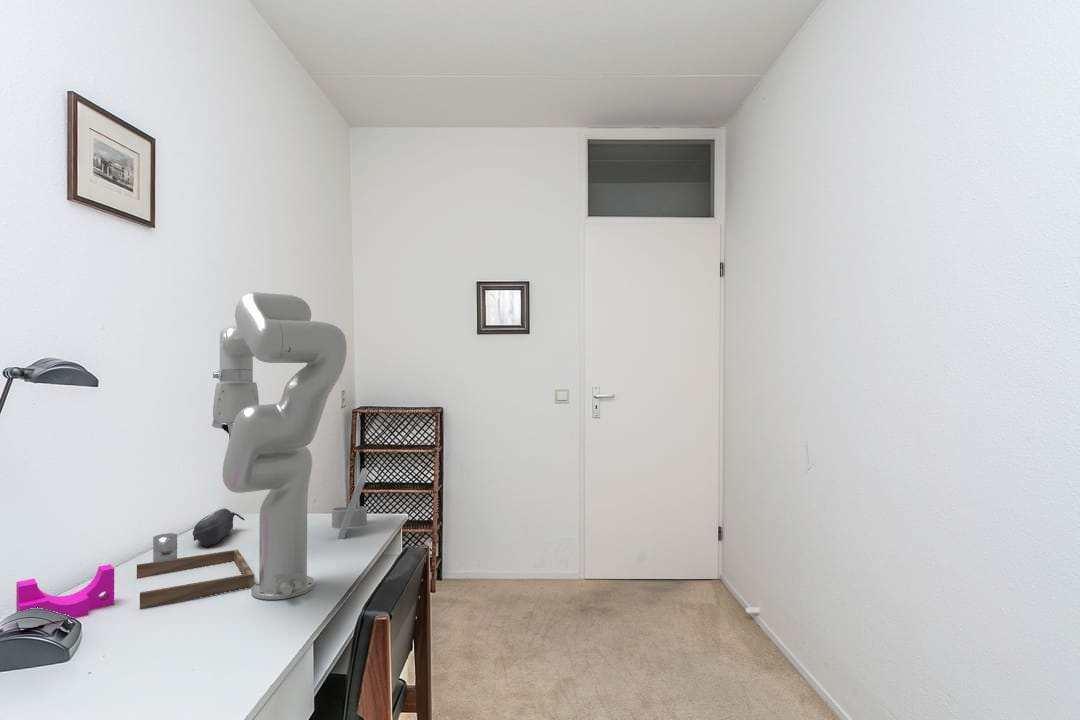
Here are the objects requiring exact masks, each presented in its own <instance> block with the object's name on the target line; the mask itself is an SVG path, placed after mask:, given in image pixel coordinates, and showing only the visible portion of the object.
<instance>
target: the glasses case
mask: <svg viewBox="0 0 1080 720" xmlns="http://www.w3.org/2000/svg"><path fill="white" fill-rule="evenodd" d="M234 516H237V517H238V519H240V520H242V521H245V517H242V516H241V515H240V514H238V513H236V512H234V511H233V512H232V511H231V510H229V509H228V508H220V509H218V510H216V511H213V512H211V513H210V514H208V515H206V516H204V517H203V518H202V519H200V520H199V521H198V522H197V523H196V524H195V525H194V527H193V531H192V536H193V541H194V542H195V541H198V542H199V543H200V544H201V546H203V547H204V546H205V548H207V547H210V546H213V545H215V544H217V543H218V542H220V541H221V540H222V539H223V538H224V537H226V536H227V535H228V534H229V533H230V532H231V531H232V530H233V528H234V518H235V517H234Z"/></svg>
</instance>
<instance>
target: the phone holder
mask: <svg viewBox="0 0 1080 720" xmlns="http://www.w3.org/2000/svg"><path fill="white" fill-rule="evenodd" d="M368 472H369V470H368V469H366V468H364V467H363V468H361V470H360V473H359V476H358V478H357V480H356V481H357V482H356V484H355V487H354V490H353V493H352V496H351V499H350V501H349V504H348V506H345V507H344V506H341V507H335V508H332V510H331V528H332V529H339V532H338V535H337V540H345V537H346V534H347V531H348V529H349V528H360V527H365V526H367V524H368V523H367V522H368V519H367V518H368V515H367V514H368V513H367V512H368V508H367V506H359V505H358V502H359V500H360V496H361V493H362V491H363V489H364V486H365V484H366V481H367V479H368V478H367V476H368ZM357 505H358V506H357Z"/></svg>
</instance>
